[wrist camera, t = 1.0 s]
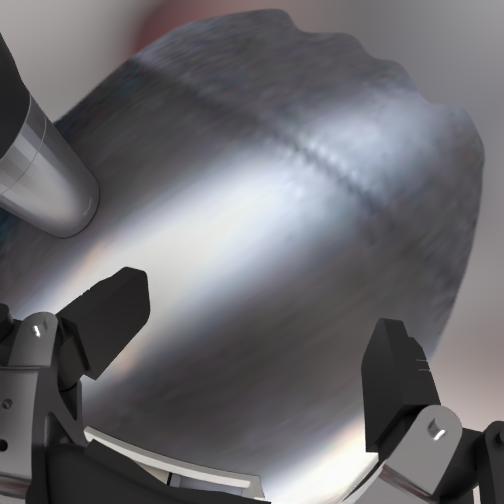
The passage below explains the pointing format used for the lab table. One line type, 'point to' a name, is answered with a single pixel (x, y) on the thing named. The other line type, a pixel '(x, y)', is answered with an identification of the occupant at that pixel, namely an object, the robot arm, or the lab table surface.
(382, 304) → the lab table surface
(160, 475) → the cream canister
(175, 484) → the pusher plate
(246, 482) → the lane
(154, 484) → the robot arm
